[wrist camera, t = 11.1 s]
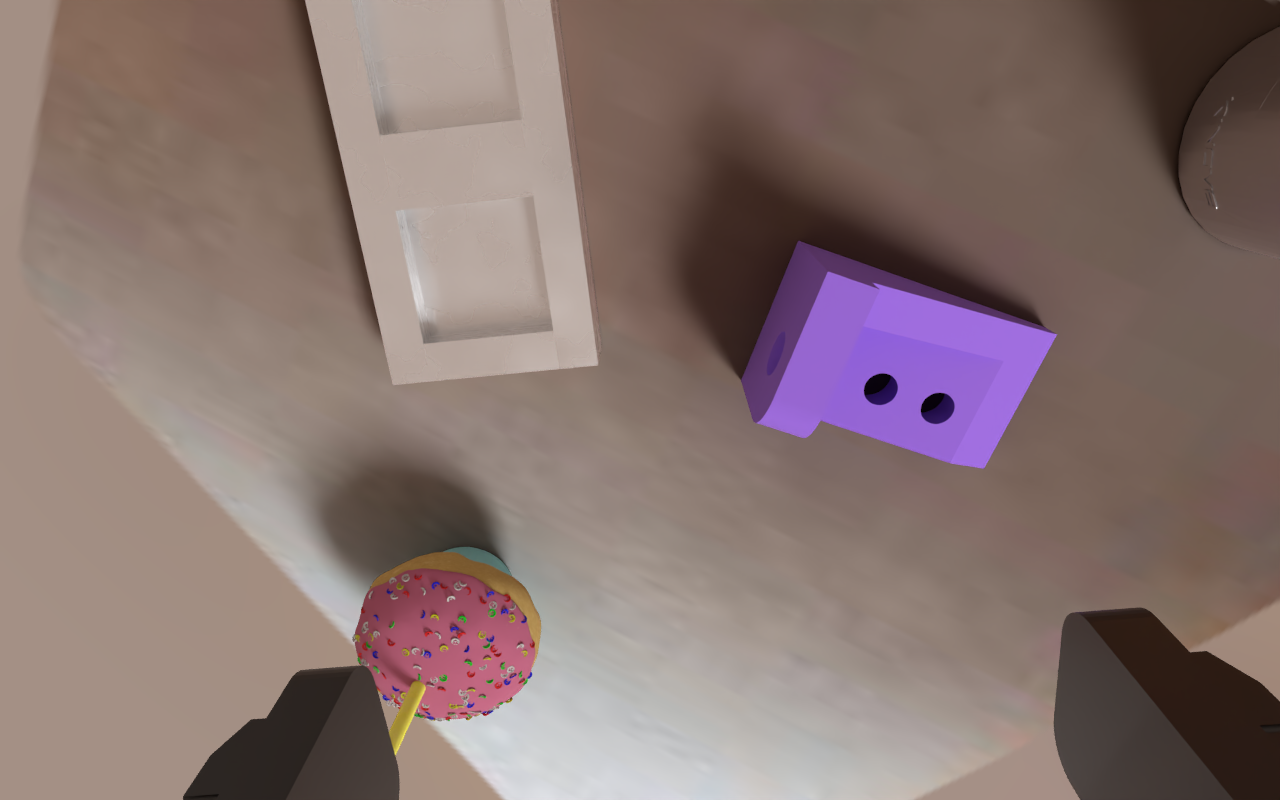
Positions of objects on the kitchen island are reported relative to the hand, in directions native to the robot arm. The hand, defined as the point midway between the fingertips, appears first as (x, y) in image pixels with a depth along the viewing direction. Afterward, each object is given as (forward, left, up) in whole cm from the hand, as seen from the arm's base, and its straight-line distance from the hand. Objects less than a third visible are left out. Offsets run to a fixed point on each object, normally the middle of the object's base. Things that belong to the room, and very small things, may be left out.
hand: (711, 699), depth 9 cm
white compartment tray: (+8, -9, -28) cm, 31 cm away
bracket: (-10, +6, -29) cm, 31 cm away
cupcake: (+12, +16, -28) cm, 35 cm away
